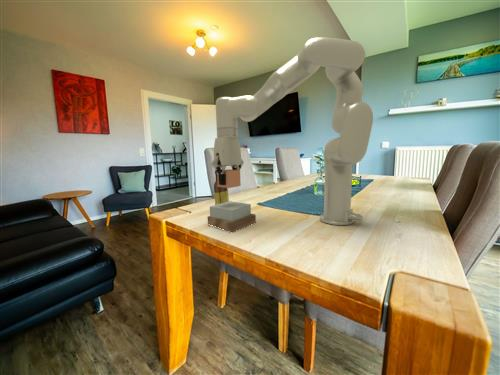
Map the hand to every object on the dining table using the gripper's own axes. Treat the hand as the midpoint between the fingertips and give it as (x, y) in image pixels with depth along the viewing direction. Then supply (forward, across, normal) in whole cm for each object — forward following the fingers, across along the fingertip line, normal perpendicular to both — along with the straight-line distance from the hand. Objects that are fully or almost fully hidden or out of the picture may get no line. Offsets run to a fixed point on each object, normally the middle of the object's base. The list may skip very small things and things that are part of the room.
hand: (229, 183), depth 81 cm
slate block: (+12, 0, 0) cm, 12 cm away
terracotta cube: (+1, 0, 0) cm, 1 cm away
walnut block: (+16, 0, 0) cm, 16 cm away
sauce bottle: (+16, -8, -14) cm, 23 cm away
